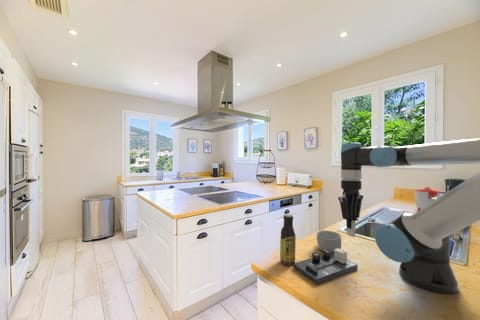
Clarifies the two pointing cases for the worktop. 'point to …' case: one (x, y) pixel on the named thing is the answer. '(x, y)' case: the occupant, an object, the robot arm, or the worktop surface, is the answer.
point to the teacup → (328, 240)
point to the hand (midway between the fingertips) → (350, 235)
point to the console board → (323, 267)
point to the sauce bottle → (287, 241)
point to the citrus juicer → (425, 197)
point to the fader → (340, 255)
